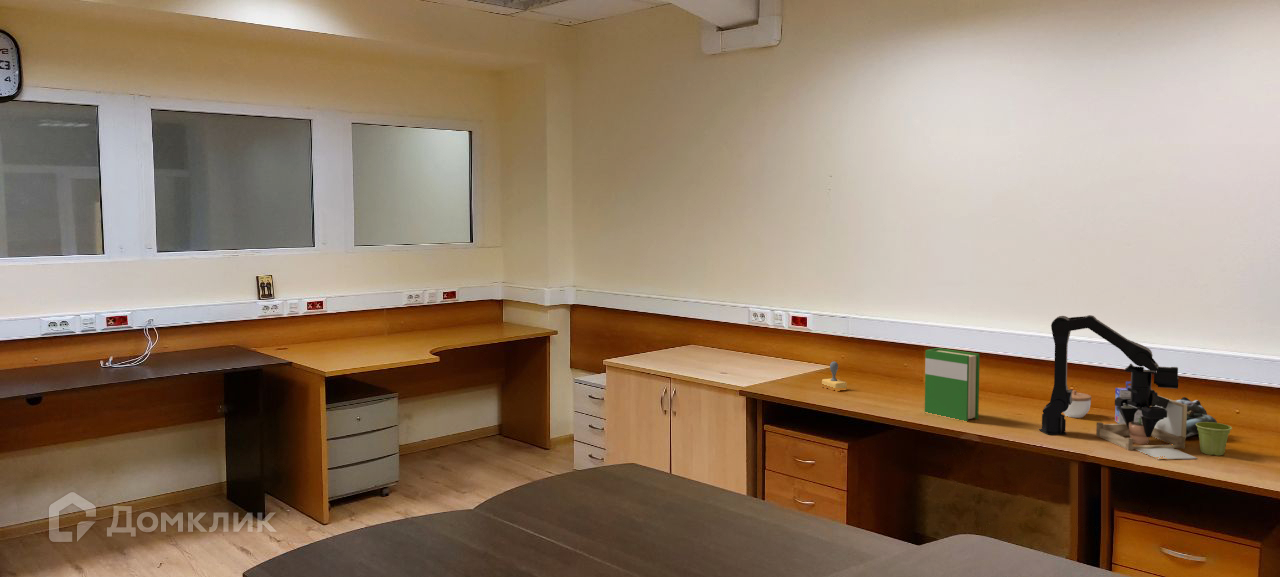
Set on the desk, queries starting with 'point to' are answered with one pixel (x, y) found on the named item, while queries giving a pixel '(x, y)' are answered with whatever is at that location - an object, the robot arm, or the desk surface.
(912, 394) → the desk surface
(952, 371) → the hardback book
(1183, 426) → the lid pane
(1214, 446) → the plant pot
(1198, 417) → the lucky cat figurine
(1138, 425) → the seedling pot
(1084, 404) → the lidded jar
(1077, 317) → the robot arm
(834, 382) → the rubber stamp
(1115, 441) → the frame
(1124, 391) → the ink cartridge box
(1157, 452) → the stone tile
